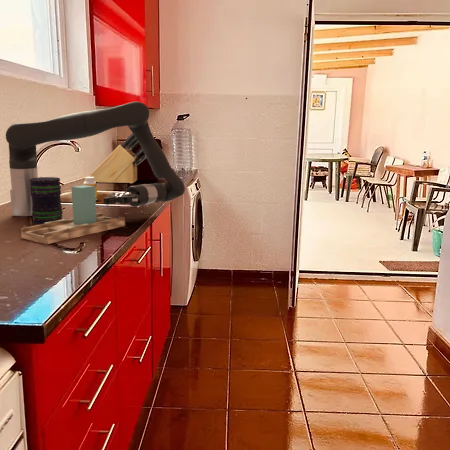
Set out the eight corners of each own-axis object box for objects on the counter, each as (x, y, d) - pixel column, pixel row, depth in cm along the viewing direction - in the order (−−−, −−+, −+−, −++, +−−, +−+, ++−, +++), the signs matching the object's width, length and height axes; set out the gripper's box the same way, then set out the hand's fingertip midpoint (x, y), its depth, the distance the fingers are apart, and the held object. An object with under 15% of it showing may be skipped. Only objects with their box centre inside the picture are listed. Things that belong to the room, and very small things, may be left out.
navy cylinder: (32, 220, 162) (28, 177, 159) (61, 218, 166) (59, 176, 163) (33, 225, 153) (29, 181, 150) (64, 223, 157) (61, 179, 154)
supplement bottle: (98, 200, 204) (97, 177, 201) (85, 201, 201) (84, 178, 199) (96, 198, 208) (94, 176, 206) (83, 199, 206) (82, 176, 204)
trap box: (100, 221, 161) (100, 212, 161) (125, 225, 155) (124, 216, 154) (21, 238, 137) (20, 227, 137) (46, 244, 131) (45, 232, 130)
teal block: (86, 221, 152) (84, 184, 149) (96, 223, 149) (94, 186, 146) (73, 223, 148) (71, 186, 145) (83, 225, 145) (81, 187, 142)
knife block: (149, 183, 262) (148, 128, 255) (87, 183, 262) (84, 127, 255) (153, 181, 273) (151, 127, 266) (93, 180, 273) (90, 127, 266)
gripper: (128, 183, 171) (91, 188, 157) (155, 186, 163) (118, 192, 149) (129, 203, 172) (92, 210, 158) (155, 207, 165) (119, 214, 151)
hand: (105, 201), depth 154 cm, fingers closed
